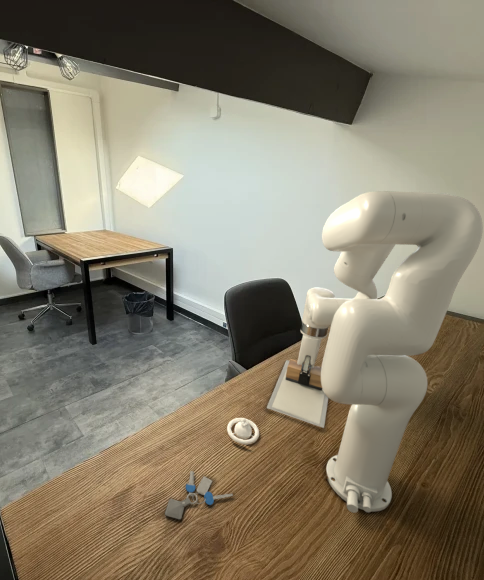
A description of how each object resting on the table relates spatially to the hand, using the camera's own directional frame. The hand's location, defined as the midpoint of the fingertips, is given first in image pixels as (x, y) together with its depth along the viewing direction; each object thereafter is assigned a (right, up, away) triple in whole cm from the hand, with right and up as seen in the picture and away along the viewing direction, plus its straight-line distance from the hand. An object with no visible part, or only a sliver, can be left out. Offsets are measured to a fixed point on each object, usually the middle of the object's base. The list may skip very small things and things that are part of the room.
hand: (304, 378), depth 97 cm
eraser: (0, -1, 0) cm, 1 cm away
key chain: (-35, -13, -35) cm, 51 cm away
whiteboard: (-2, -3, -3) cm, 5 cm away
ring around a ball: (-23, -9, -20) cm, 32 cm away
